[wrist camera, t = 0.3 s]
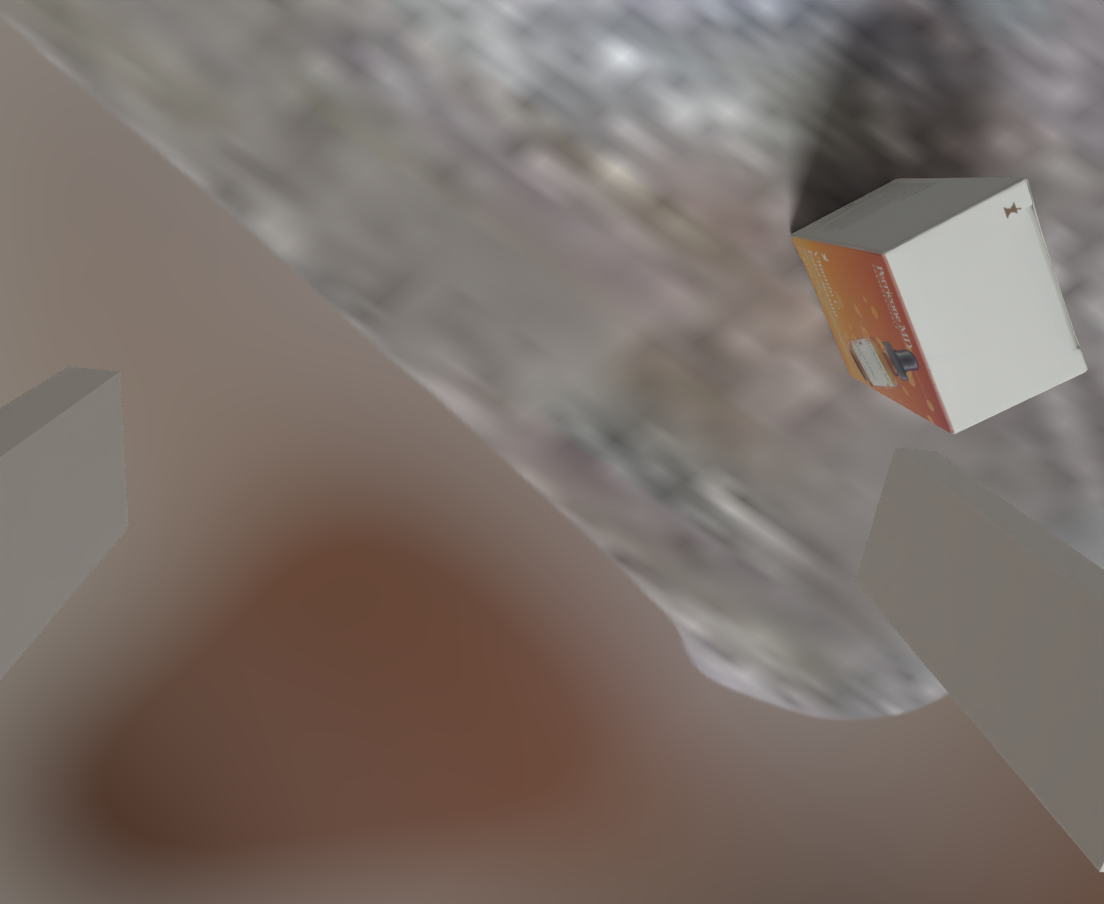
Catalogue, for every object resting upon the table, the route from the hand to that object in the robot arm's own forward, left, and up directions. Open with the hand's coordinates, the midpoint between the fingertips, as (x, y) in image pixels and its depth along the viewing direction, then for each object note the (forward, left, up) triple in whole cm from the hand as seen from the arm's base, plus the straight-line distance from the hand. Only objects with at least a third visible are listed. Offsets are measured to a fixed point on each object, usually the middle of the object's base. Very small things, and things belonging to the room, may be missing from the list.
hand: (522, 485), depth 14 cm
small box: (-5, +16, -27) cm, 32 cm away
